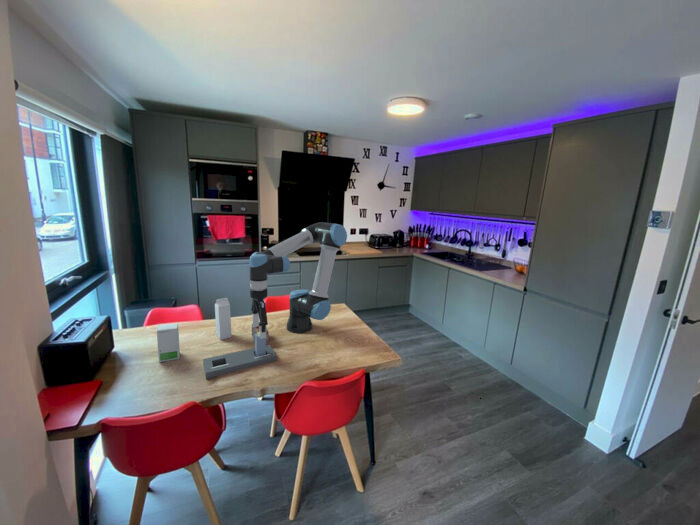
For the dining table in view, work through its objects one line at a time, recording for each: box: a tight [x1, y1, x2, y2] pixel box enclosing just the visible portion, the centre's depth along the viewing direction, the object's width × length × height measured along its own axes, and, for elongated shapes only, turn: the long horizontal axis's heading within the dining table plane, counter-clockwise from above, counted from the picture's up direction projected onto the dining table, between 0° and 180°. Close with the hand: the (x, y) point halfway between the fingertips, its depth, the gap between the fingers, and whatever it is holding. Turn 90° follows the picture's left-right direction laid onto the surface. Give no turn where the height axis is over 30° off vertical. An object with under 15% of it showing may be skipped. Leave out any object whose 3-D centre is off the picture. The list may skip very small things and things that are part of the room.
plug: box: [254, 332, 267, 357], centre depth 135 cm, size 4×4×13 cm
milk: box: [214, 297, 232, 341], centre depth 154 cm, size 6×6×22 cm
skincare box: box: [156, 322, 181, 363], centre depth 133 cm, size 8×7×16 cm
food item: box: [251, 321, 270, 345], centre depth 153 cm, size 14×8×10 cm, turn 31°
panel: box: [202, 344, 278, 380], centre depth 132 cm, size 30×12×3 cm, turn 121°
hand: (259, 332), depth 134 cm, fingers open, 13 cm apart
